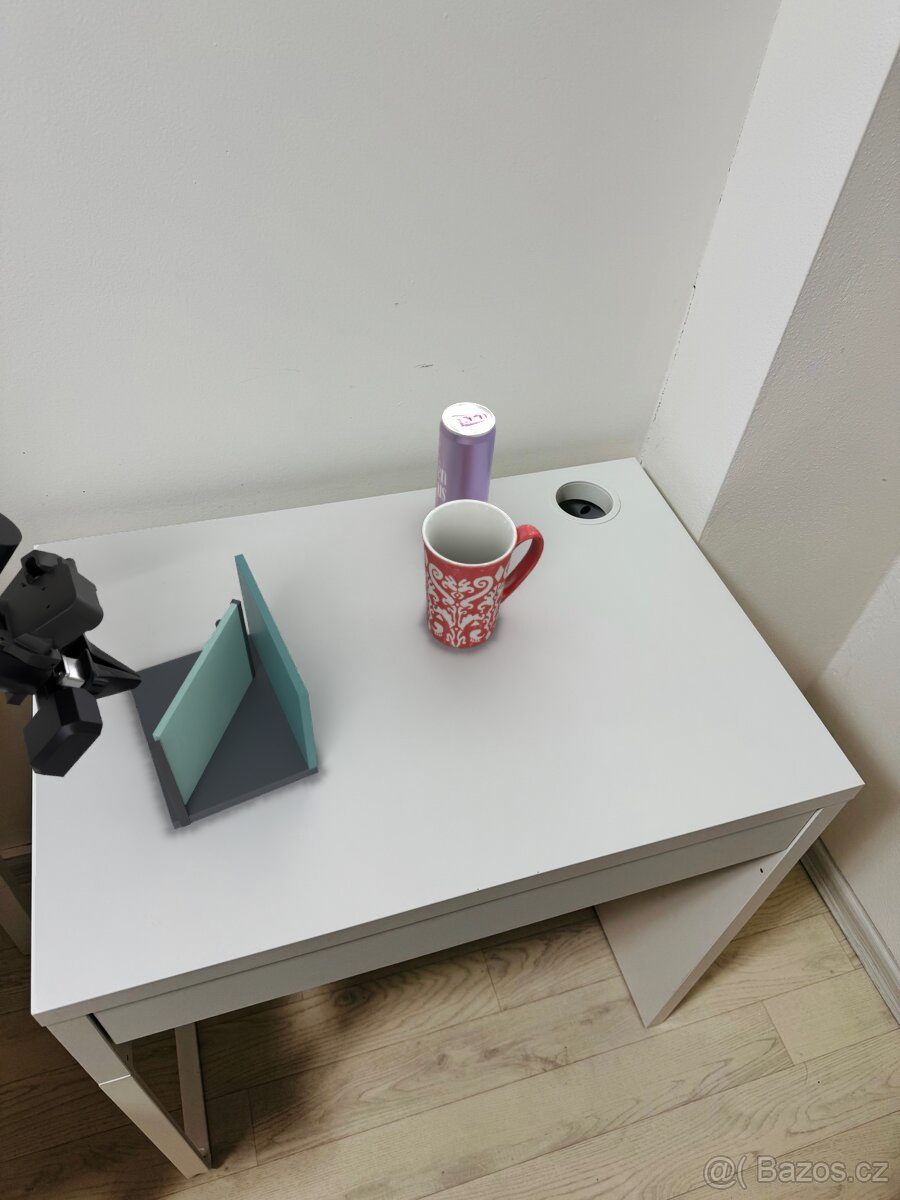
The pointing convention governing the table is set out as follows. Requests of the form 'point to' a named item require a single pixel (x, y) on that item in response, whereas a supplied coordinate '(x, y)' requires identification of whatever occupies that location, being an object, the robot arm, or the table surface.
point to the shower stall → (238, 721)
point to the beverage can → (465, 453)
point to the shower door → (207, 700)
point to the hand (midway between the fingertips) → (138, 681)
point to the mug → (472, 568)
